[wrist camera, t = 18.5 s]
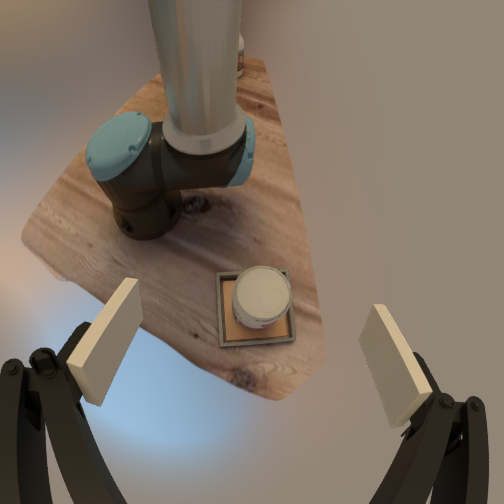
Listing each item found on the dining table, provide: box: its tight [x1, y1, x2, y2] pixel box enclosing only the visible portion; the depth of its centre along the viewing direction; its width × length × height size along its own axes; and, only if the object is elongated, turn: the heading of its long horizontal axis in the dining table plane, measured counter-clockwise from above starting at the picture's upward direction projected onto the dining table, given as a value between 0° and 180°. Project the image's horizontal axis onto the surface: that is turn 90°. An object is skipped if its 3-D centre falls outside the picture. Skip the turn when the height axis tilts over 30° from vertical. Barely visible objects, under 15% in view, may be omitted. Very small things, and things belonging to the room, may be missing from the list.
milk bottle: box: [237, 35, 244, 78], centre depth 65 cm, size 8×8×20 cm
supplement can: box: [232, 266, 292, 330], centre depth 43 cm, size 8×8×15 cm
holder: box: [216, 268, 296, 347], centre depth 49 cm, size 13×13×2 cm
